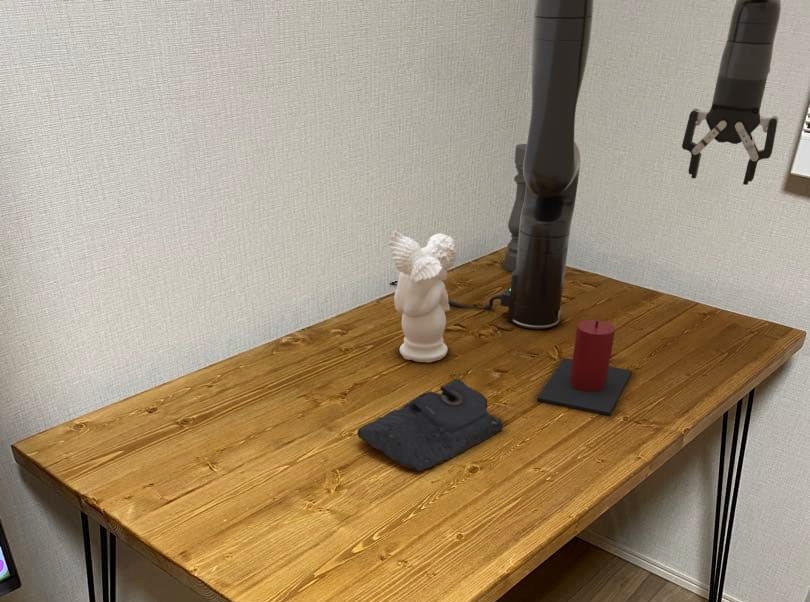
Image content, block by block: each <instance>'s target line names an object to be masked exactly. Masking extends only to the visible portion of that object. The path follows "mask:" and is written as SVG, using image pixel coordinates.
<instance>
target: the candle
mask: <svg viewBox="0 0 810 602" xmlns="http://www.w3.org/2000/svg"><path fill="white" fill-rule="evenodd" d="M615 332H616V327H615V326H614V325H613V324H612V323H610V322H608V321H603V320H599V319H586V320H582V321H580V322H578V324H577V327H576V333H575V340H574V348H573V354H572V367H571V375H570V385H571V386H572V387H574V388H576V389H578V390H582V391H588V392H594V391H600V390H602V389H604V388H605V386H606V381H607V375H608V369H609V367H610V363H611V356H612V352H613V345H614V340H615V339H614V338H615Z"/></svg>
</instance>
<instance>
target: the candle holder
mask: <svg viewBox="0 0 810 602" xmlns="http://www.w3.org/2000/svg"><path fill="white" fill-rule="evenodd" d="M526 146H527V143H520V144H516V146H515V153H514V164H515V169H516V172H517V174H516V175H515V176H514V177H513V178H514V179H513V181H514V182H515V184H516V192H515V200H514V203H513V206H512V210H511V213H510V216H509V219H508V223H507V228H508V231H509V233H510V234H511V235H510V237H511V239H510V241H509V242H508V243H507V245H506V248H507V249H506V250H505V254H504V255H505V256H504V269H505V270H507V271H509V272H512V273H513V272H514V271H515V269H516V259H517V248H518V237H519V226H520V216H521V212H522V208H523V203H524V197H525V189H526V182H525V179H524V175H523V162H524V157H525V151H526Z"/></svg>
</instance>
